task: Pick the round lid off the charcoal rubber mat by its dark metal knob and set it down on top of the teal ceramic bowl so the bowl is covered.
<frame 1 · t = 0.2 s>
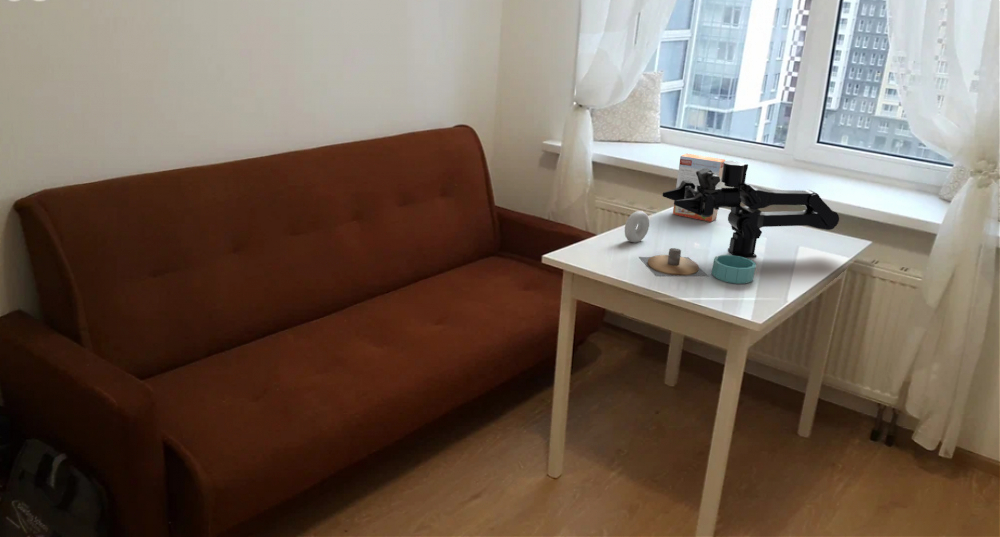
hand: (668, 198, 217), 17 cm above the table, tool horizontal, fingers open, 9 cm apart
cracker box: (694, 217, 262), on the table
mat: (672, 267, 212), on the table
lid: (672, 266, 212), resting on mat
donut: (635, 243, 232), on the table
bowl: (731, 278, 206), on the table
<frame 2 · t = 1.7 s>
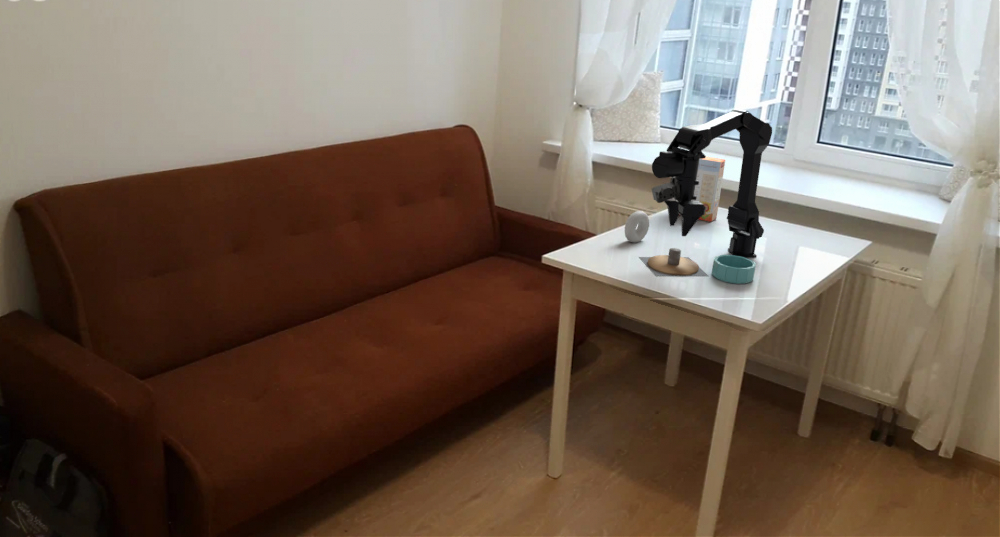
hand: (677, 230, 208), 11 cm above the table, tool pointing down, fingers open, 9 cm apart
nothing on the table moved.
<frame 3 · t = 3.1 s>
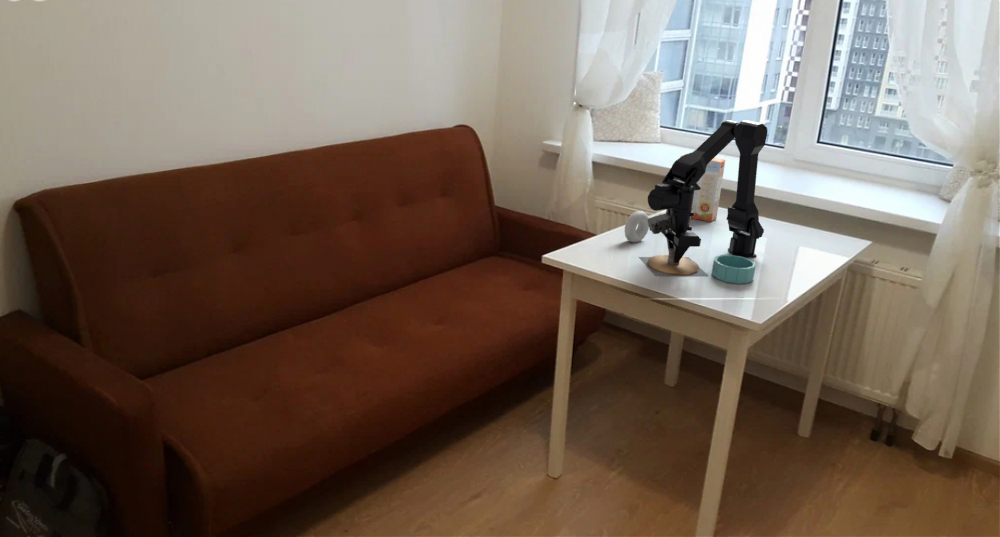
hand: (673, 260, 211), 2 cm above the table, tool pointing down, fingers closed on lid, 3 cm apart
lid: (672, 266, 212), resting on mat, touching gripper
everything else where it was.
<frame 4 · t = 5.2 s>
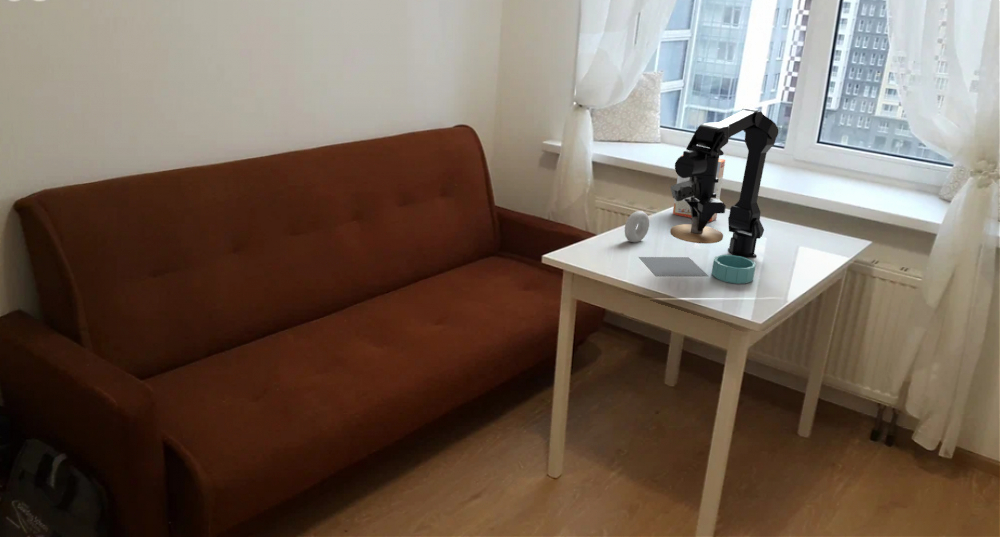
hand: (697, 229, 206), 12 cm above the table, tool pointing down, fingers closed on lid, 3 cm apart
lid: (696, 234, 207), point 10 cm above the table, touching gripper
everything else where it was.
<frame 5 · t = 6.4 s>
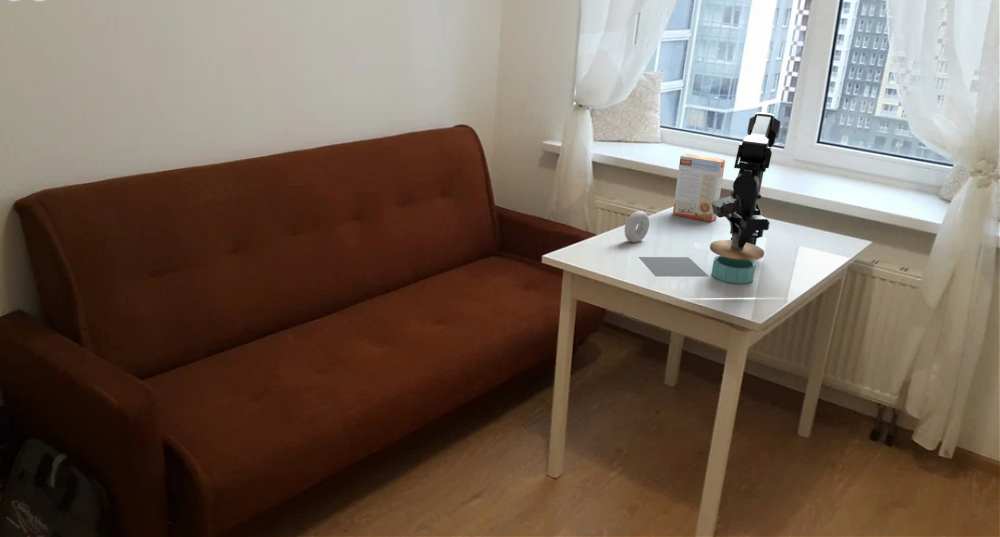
hand: (737, 245, 203), 10 cm above the table, tool pointing down, fingers closed on lid, 3 cm apart
lid: (736, 251, 204), point 8 cm above the table, touching gripper
everything else where it was.
when the fingers open (8 cm above the table, at t = 7.3 s): lid drops 2 cm, resting on bowl.
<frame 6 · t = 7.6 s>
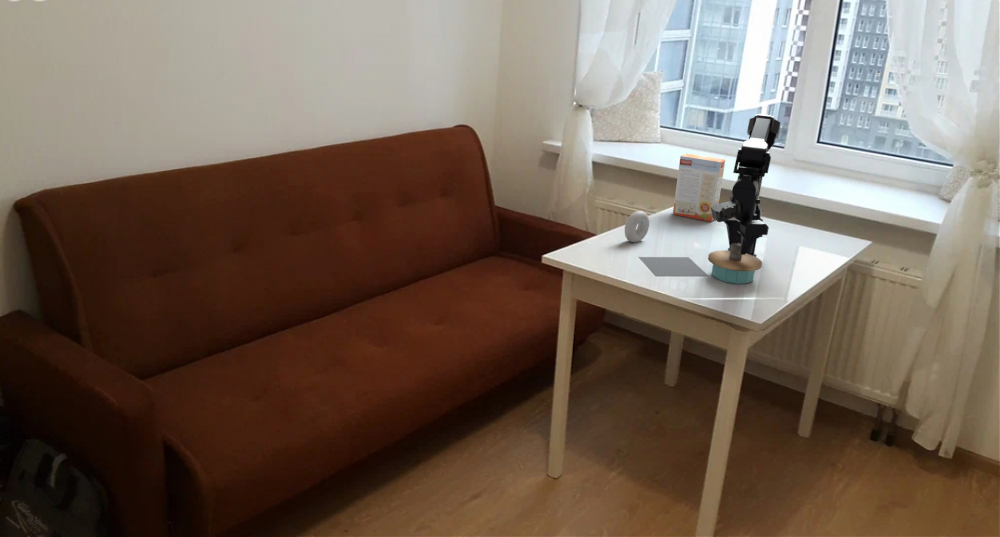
hand: (736, 249, 204), 8 cm above the table, tool pointing down, fingers open, 7 cm apart
lid: (734, 261, 205), point 5 cm above the table, touching bowl
bowl: (731, 279, 206), on the table, touching lid
everything else where it was.
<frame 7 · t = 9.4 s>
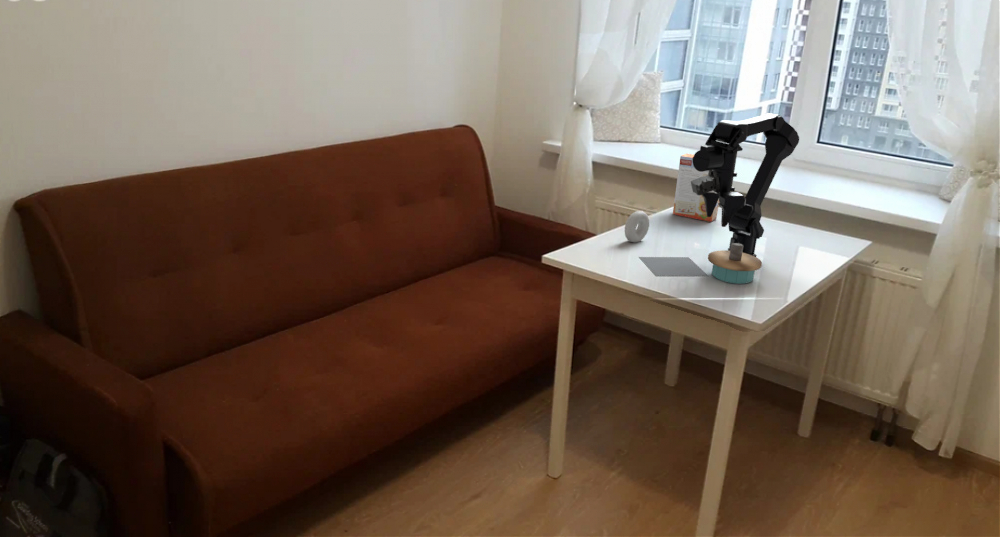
hand: (716, 221, 214), 12 cm above the table, tool pointing down, fingers open, 9 cm apart
nothing on the table moved.
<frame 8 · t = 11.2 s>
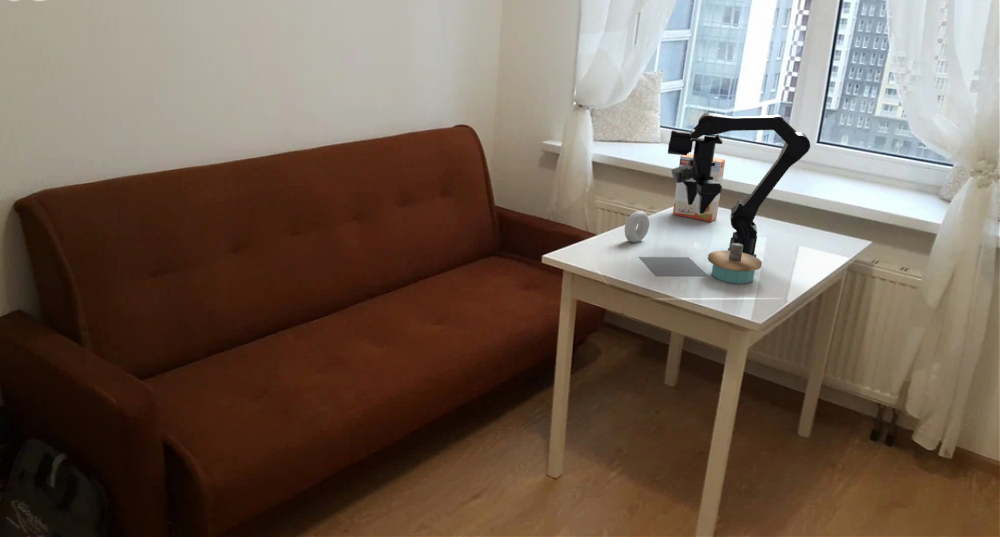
hand: (695, 208, 226), 12 cm above the table, tool pointing down, fingers open, 9 cm apart
nothing on the table moved.
at the end: lid 0.2 cm off-centre on the bowl, point 5.0 cm above the bowl's base; lid tilted 0°; bowl tilted 0° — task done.
